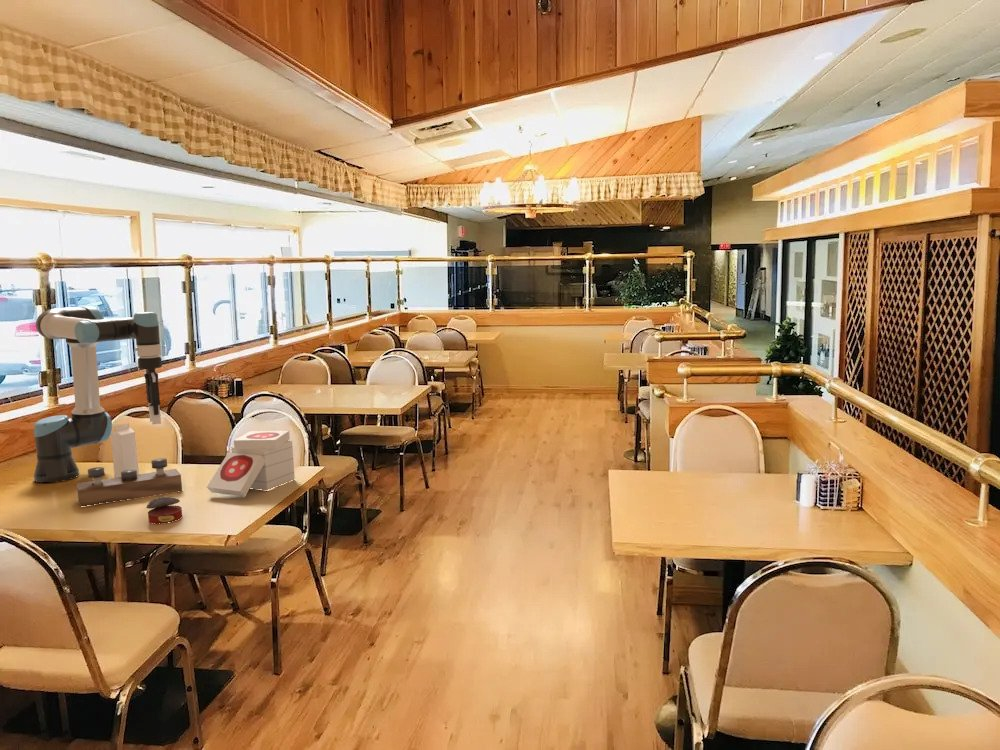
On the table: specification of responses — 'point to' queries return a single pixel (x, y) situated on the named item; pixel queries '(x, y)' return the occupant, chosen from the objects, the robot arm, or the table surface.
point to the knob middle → (129, 475)
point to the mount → (129, 488)
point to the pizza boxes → (255, 463)
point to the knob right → (159, 465)
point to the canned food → (164, 510)
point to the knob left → (96, 474)
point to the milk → (124, 449)
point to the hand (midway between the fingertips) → (155, 422)
